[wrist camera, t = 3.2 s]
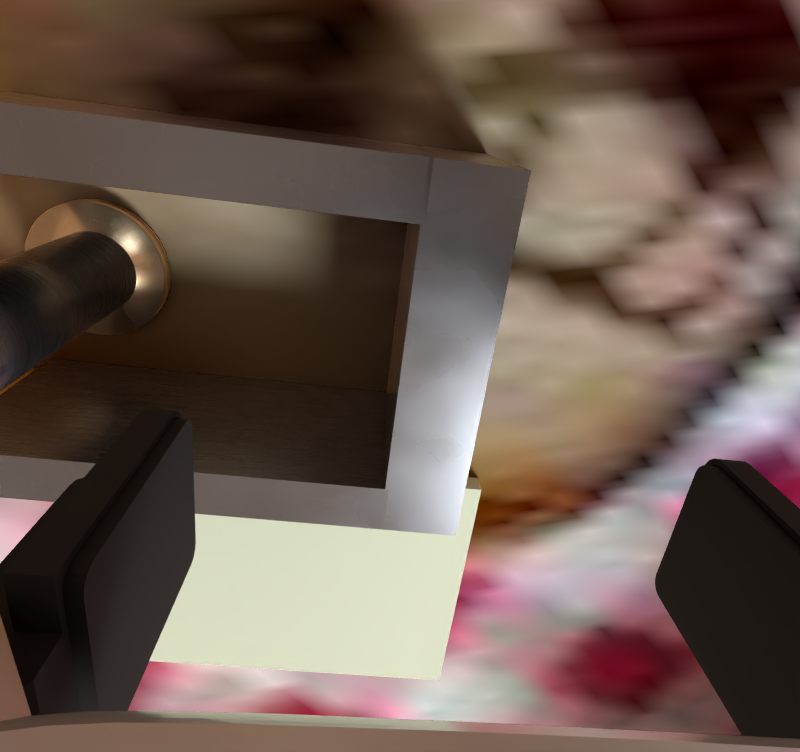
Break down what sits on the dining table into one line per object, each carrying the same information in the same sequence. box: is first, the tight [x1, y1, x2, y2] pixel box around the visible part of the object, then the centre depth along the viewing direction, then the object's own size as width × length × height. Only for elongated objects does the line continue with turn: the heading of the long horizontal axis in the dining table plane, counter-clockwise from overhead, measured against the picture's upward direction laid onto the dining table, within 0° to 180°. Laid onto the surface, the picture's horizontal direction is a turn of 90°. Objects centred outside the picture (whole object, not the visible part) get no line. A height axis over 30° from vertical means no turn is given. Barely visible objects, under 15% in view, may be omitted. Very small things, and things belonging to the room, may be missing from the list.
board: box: [149, 477, 481, 680], centre depth 24 cm, size 16×11×1 cm
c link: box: [0, 91, 531, 536], centre depth 16 cm, size 14×10×6 cm
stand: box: [0, 199, 171, 391], centre depth 14 cm, size 4×4×10 cm
